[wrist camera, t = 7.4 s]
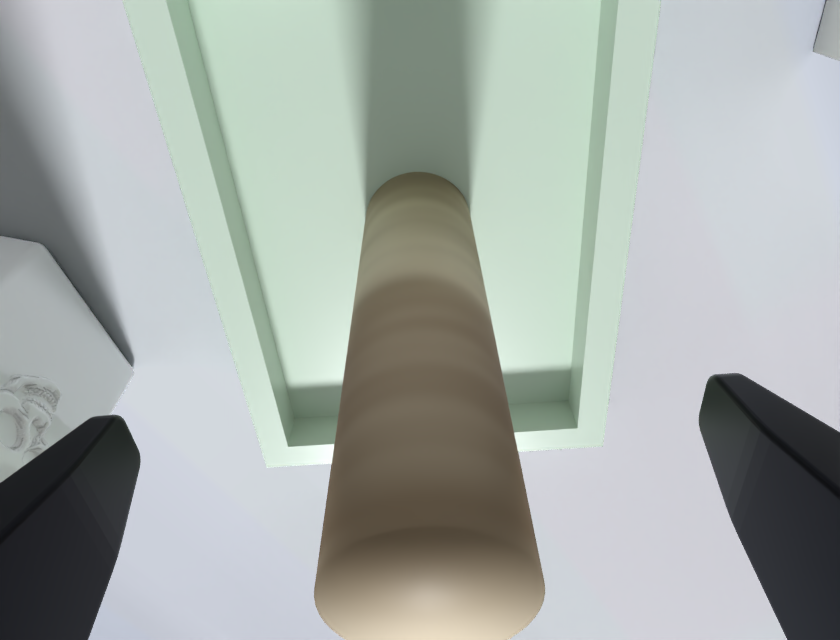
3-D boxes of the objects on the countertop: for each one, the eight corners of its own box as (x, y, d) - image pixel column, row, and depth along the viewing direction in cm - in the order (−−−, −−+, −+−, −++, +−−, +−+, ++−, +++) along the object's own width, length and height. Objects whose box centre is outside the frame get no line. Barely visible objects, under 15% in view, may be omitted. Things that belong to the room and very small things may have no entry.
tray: (588, 405, 19) (603, 446, 18) (277, 425, 20) (266, 467, 18) (646, -144, 12) (680, -151, 10) (132, -97, 12) (91, -98, 10)
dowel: (471, 264, 16) (540, 652, 8) (372, 271, 16) (333, 665, 8) (468, 168, 14) (550, 517, 6) (359, 176, 15) (293, 533, 6)
